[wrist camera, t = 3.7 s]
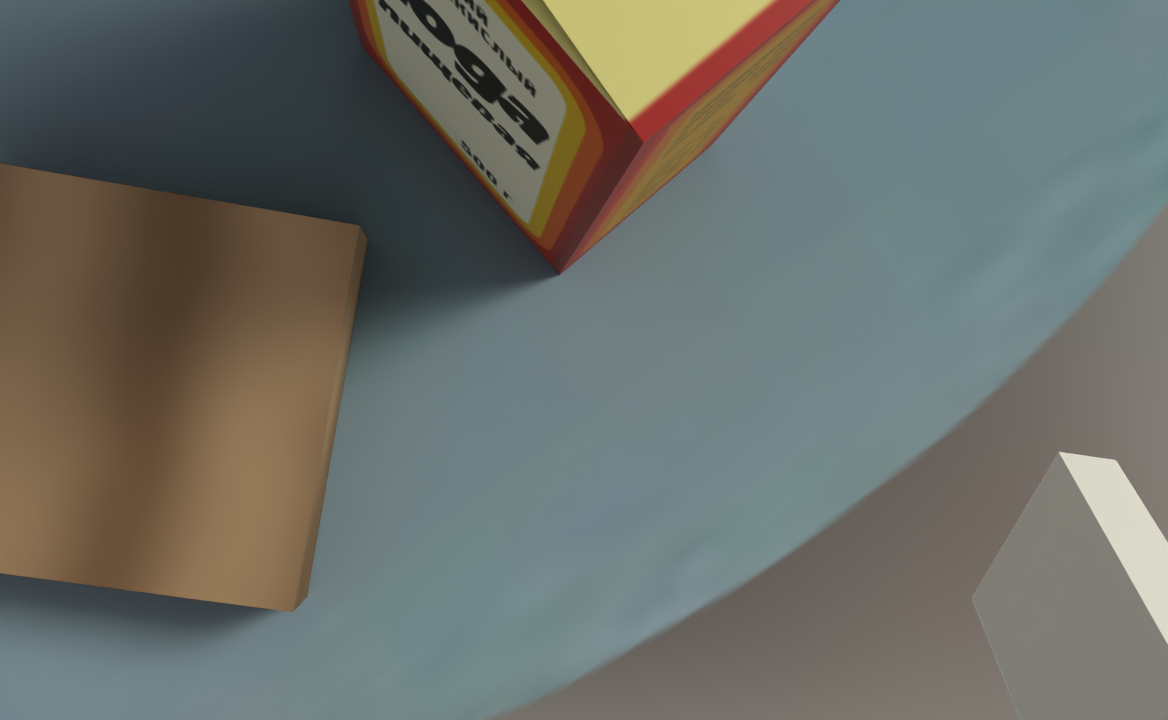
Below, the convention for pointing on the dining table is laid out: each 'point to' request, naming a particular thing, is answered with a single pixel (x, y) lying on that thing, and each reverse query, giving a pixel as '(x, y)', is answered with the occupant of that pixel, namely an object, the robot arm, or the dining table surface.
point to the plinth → (168, 387)
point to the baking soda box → (580, 94)
